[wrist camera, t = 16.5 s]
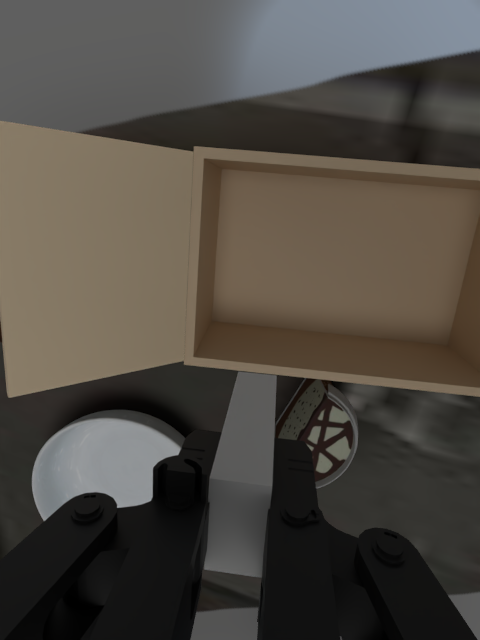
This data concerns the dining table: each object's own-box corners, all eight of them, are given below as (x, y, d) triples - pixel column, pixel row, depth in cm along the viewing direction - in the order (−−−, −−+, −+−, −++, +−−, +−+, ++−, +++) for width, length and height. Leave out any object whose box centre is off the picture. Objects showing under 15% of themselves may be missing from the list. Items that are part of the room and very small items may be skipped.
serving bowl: (112, 545, 58) (91, 589, 52) (30, 426, 54) (-4, 457, 47) (242, 498, 54) (238, 539, 48) (166, 365, 50) (149, 390, 43)
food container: (311, 456, 52) (319, 514, 42) (268, 434, 51) (267, 488, 42) (365, 378, 48) (388, 422, 38) (319, 354, 48) (331, 392, 38)
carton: (450, 350, 46) (508, 399, 35) (205, 324, 48) (184, 364, 36) (491, 183, 41) (575, 176, 30) (215, 160, 43) (194, 146, 31)
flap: (9, 397, 28) (7, 394, 28) (183, 360, 36) (180, 358, 36) (-17, 118, 23) (-18, 119, 23) (193, 151, 31) (189, 151, 32)
